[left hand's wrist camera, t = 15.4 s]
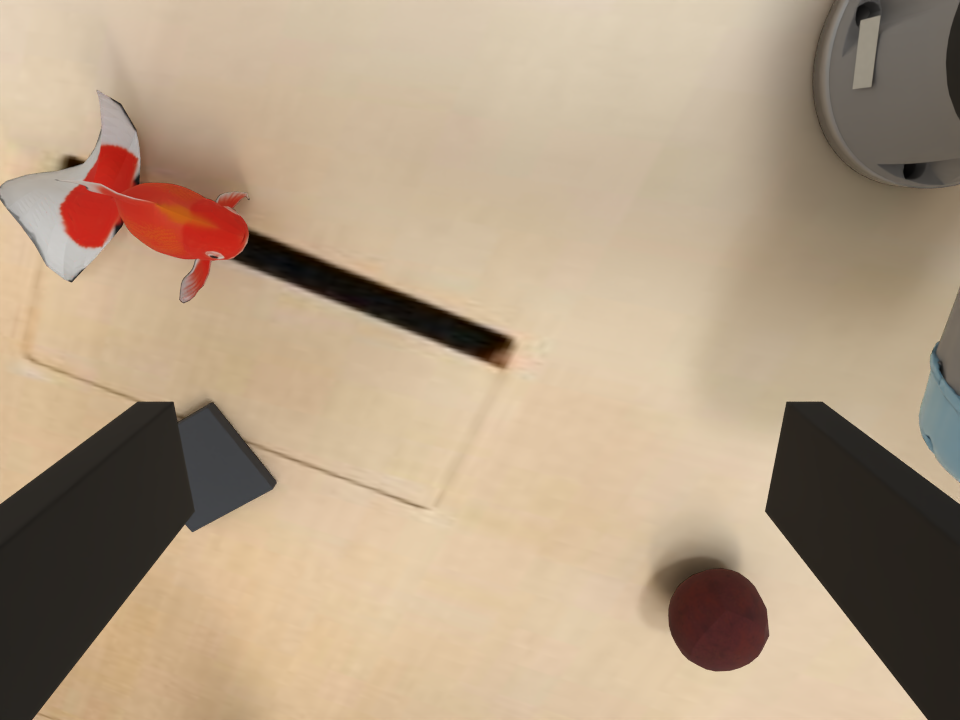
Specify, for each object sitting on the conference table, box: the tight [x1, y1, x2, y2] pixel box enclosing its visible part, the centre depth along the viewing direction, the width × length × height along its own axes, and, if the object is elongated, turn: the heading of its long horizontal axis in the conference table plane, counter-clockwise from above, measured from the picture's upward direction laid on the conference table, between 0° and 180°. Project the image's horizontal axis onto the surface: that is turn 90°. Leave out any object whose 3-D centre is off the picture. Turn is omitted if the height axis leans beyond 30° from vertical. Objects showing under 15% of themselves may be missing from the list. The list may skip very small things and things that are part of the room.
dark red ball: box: [668, 568, 769, 671], centre depth 46 cm, size 7×8×7 cm
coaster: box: [178, 403, 277, 532], centre depth 45 cm, size 8×8×1 cm
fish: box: [0, 90, 250, 303], centre depth 35 cm, size 11×16×10 cm
